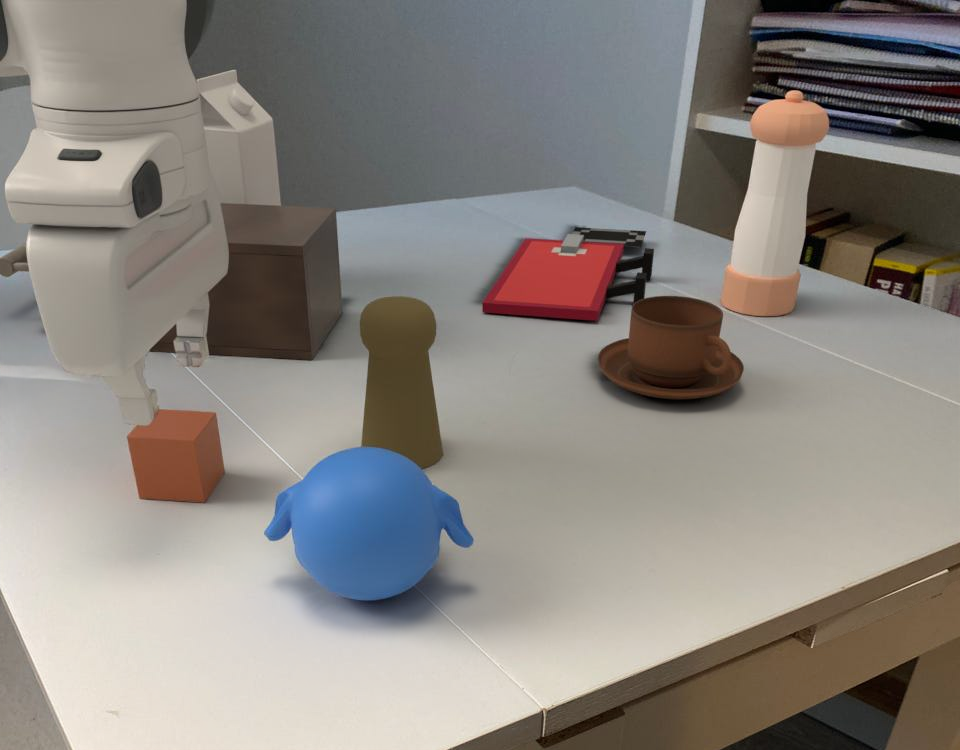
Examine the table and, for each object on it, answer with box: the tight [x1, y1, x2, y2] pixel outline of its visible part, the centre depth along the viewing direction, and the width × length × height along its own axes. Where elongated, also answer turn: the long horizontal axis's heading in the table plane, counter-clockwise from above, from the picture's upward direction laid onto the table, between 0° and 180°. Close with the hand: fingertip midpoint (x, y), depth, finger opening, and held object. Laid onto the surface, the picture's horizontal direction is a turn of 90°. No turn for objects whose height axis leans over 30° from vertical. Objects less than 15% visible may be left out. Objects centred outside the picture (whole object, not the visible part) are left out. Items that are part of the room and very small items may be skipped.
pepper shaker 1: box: [359, 295, 444, 470], centre depth 70 cm, size 6×6×11 cm
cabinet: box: [149, 203, 343, 361], centre depth 90 cm, size 15×13×10 cm
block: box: [126, 408, 226, 504], centre depth 68 cm, size 4×4×4 cm
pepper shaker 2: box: [720, 90, 830, 317], centre depth 96 cm, size 7×7×19 cm
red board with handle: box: [481, 226, 655, 322], centre depth 108 cm, size 30×3×15 cm
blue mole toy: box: [263, 446, 475, 601], centre depth 58 cm, size 12×12×8 cm
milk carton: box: [196, 69, 282, 206], centre depth 99 cm, size 7×7×19 cm
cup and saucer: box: [597, 295, 745, 400], centre depth 83 cm, size 12×12×6 cm
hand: (169, 390), depth 65 cm, fingers open, 8 cm apart
